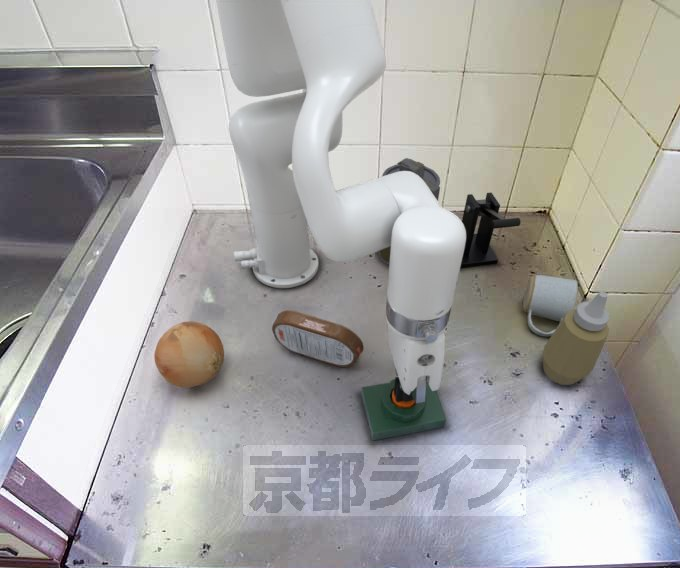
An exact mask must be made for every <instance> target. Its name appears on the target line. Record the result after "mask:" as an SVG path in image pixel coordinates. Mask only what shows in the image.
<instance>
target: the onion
mask: <svg viewBox="0 0 680 568" xmlns="http://www.w3.org/2000/svg"><path fill="white" fill-rule="evenodd" d="M153 356H154V364H155V366H156V368H157V370H158V372H159V374H160V375H161V376H162V377H163V379H165V380H166V381H167V382H168V383H169V384H170V385H173V386H175V387H178V388H192V387H197V386H201V385H205V384H206V383H208V382H209V381H211V380H212V379H214V378H215V377H216V376H217V375H218V374H219V372H220V370H221V369H222V366H223V364H224V361H225V348H224V344H223V341H222V340H221V338H220V336H219V334H218V333H217V332H216V331H214V329H213V328H211V327H210V326H209V325H207V324H204V323H203V322H197V321H191V320H190V321H182V322H180V323H177V324H175V325H173V326H171V327H170V328H169V329H168V330H166V332H164V333H163V334H162V336H161V337H160V338H159V339H158V342H157V344H156V347H155V350H154V354H153Z"/></svg>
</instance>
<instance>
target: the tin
mask: <svg viewBox="0 0 680 568" xmlns="http://www.w3.org/2000/svg"><path fill="white" fill-rule="evenodd" d="M271 331H272V334H273V336H274V338H275V340H276V341H277V342H278V343H279V344H280V345H281V346H282V347H284V348H285V349H287V350H288V351H290V352H292V353H295V354H298V355H301V356H304V357H307V358H310V359H313V360H317V361H319V362H321V363H325V364H329V365H331V366H335V367H339V368H349V367H353V366H354V365H356V363H357V362H358V361H359V359H360V357H361V355H362V354H363V352H364V342H363V341H362V339H361V338H360V336H359V335H358V334H357V333H356V332H355V331H354V330H351V329H350V328H349V327H347V326H345V325H342V324H340V323H336V322H333V321H331V320H326V319H323V318H319V317H316V316H313V315H310V314H307V313H304V312H302V311H301V312H300V311H298V310H292V309H291V310H290V309H287V310H283V311H280V312H279V313H278V314H277V317H276V319H275V321H274V322H273V323H272V326H271Z"/></svg>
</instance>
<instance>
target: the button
mask: <svg viewBox="0 0 680 568" xmlns="http://www.w3.org/2000/svg"><path fill="white" fill-rule="evenodd" d="M395 397H396V396H395V395H394V390H393V392H392V400H391V401H392V403H393V404H394V405H395V406H396V407H399V408H402V409H407V408H412V407H413V406H415V404H416V403H415V402H414V399H413V400H412V401H408V402H404V401H401V402H396V399H395Z"/></svg>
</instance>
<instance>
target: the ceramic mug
mask: <svg viewBox="0 0 680 568" xmlns="http://www.w3.org/2000/svg"><path fill="white" fill-rule="evenodd" d="M578 285H579V284H578V281H577V280H576V279H570V278H563V277H556V276H550V275H543V274H534V275H531V276H530V277H529V279H528V283H527V285H526V287H525V288H526V289H525V293H524V298H523V303H522V308H523V311H524V312H526V313H527V324H528V328H529V329H530V330H531V331H532V332H533V333H534V334H536V335H538V336H541V337H551V336H552V334H553V333H554V332H555V330H556V329H557V327H556V328H555V329H553V330H551V331H548V332H545V331H542V330H540V329H539V328H538V327H536V326H535V325H534V324H533V321H532V315H533V316H535V317H536V316H537V317H542V318H545V319H547V320H548V319H549V320H552V321H556V322H559V324H560V323H561V321H562V320H563V318H564V317H565V315H566V314H567V313H568V312H569V311H572V310H575V309H574V308H575V305H576V303H577V302H576V301H577V296H578V290H579V289H578V287H579V286H578ZM559 324H558V325H559Z"/></svg>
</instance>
